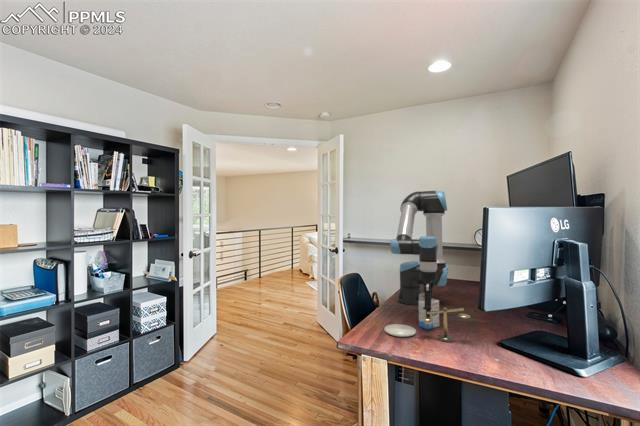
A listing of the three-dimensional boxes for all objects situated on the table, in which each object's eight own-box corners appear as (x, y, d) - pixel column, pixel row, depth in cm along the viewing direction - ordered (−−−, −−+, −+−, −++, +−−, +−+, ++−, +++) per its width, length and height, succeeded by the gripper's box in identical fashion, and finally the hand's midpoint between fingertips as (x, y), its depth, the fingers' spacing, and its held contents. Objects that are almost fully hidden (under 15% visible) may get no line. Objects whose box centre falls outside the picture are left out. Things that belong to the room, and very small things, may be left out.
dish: (387, 325, 137) (387, 322, 137) (417, 329, 132) (417, 326, 132) (381, 335, 125) (381, 332, 125) (414, 340, 120) (414, 337, 120)
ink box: (428, 330, 131) (427, 296, 131) (418, 326, 135) (417, 293, 135) (440, 326, 136) (439, 293, 136) (430, 323, 140) (429, 291, 140)
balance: (422, 333, 127) (422, 302, 127) (470, 339, 120) (469, 307, 120) (421, 338, 121) (420, 306, 122) (471, 345, 114) (470, 311, 115)
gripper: (421, 266, 148) (422, 312, 147) (417, 274, 127) (418, 327, 127) (438, 267, 145) (439, 314, 144) (435, 275, 124) (437, 330, 124)
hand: (429, 320), depth 135 cm, fingers closed on ink box, 9 cm apart
